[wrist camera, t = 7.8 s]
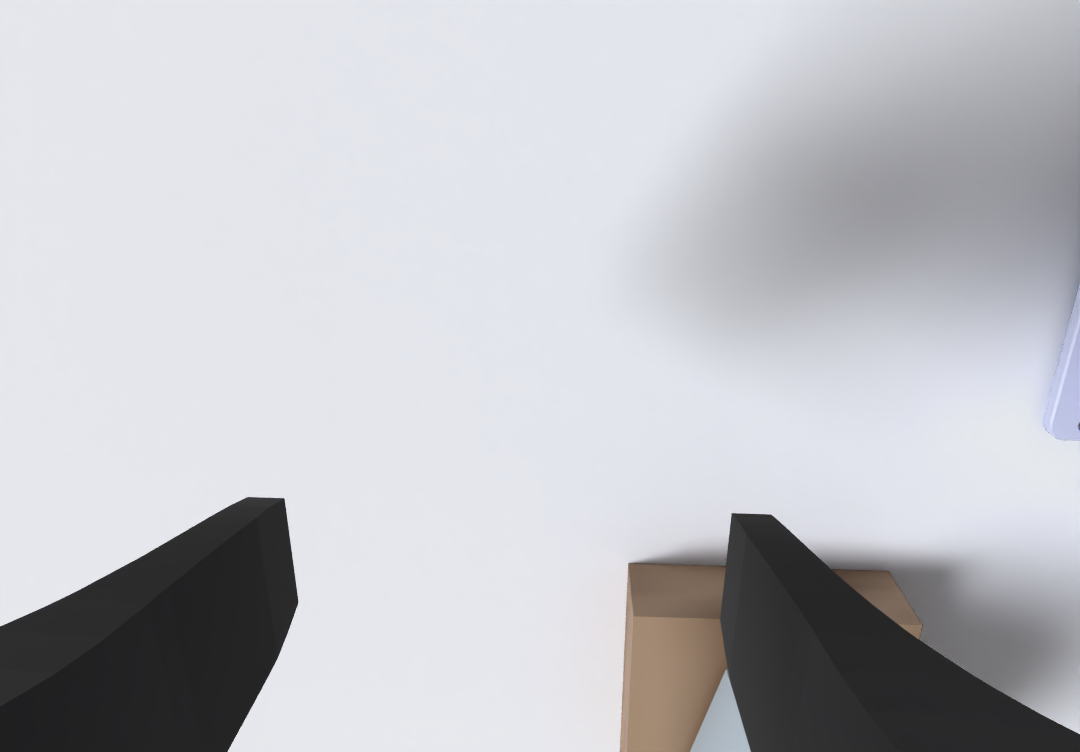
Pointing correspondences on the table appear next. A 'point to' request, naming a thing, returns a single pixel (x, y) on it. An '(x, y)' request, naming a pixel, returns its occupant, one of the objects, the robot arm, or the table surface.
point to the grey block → (722, 723)
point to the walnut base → (696, 647)
